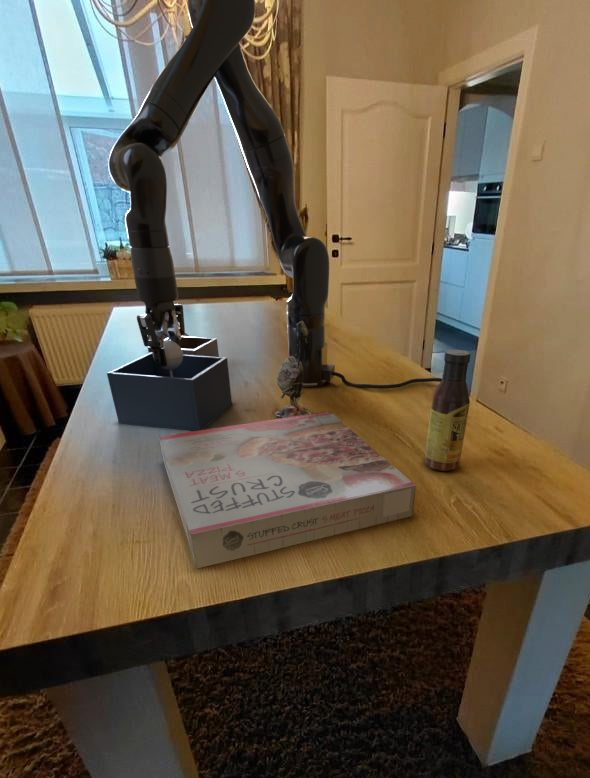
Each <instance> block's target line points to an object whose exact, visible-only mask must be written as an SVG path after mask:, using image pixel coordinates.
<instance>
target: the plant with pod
mask: <svg viewBox="0 0 590 778" xmlns="http://www.w3.org/2000/svg"><path fill="white" fill-rule="evenodd" d="M296 328H297V329H296V330H297V337H298V340H299V345H300V350H299V357H298V359H297V358H296V357H294V356H289V355H288V356H287V357H286V358H285V360H283V362H282V363H281V365H280V368H279V369H278V372H277V377H276V384H277V385H278V387H279V389H280V390H281V393H282V395H281V397H280V398H281V399H284V397H285V396H287V397H289V403H290V404H287V405H284V406H283V408H282V409H278V410H276V411H274V412H273V414H275V416H276V417H278V418H287V417H293V416H300V415H307V414H312V412H311V410H309V409H308V408H306V407H305V406H304V405H303V404H299V401H300V399H301V397H302V395H303V392H304V391H303V390H304V387H303V379H304V376H303V375H304V374H303V371H304V369H303V366H302V364H301V362H300V351H301V345H302V340H305V342H306V343H308V342H307V339H306V337H307V336H308V331H307V328H306V325H305V324H304V322H303V321H300V322H299V323H298V324H297V326H296ZM295 355H297V354H295Z"/></svg>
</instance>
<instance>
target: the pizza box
mask: <svg viewBox="0 0 590 778" xmlns="http://www.w3.org/2000/svg"><path fill="white" fill-rule="evenodd" d="M158 439H159V444H160V449H161V454H162V460H163V464H164V467H165V471H166V474H167V477H168V481H169V484H170V486H171V490H172V493H173V497H174V500H175V503H176V506H177V511H178V513H179V516H180V519H181V524H182V526H183V529H184V532H185V535H186V539H187V542H188V545H189V548H190V552H191V555H192V558H193V562H194V565H195V568H196V569H201V568H206V567H209V566H214V565H218V564H222V563H225V562H231V561H234V560H238V559H243V558H246V557H251V556H254V555H258V554H263V553H267V552H271V551H276V550H279V549H283V548H284V549H285V548H288V547H292V546H296V545H300V544H304V543H308V542H313V541H316V540H321V539H325V538H329V537H333V536H337V535H341V534H345V533H350V532H353V531H358V530H363V529H367V528H370V527H375V526H379V525H383V524H386V523H391V522H395V521H398V520H403V519H408V518H411V517H413V513H414V504H415V496H416V487H417V485H416V484H414V482H413V481H412V480H411V479H409V478H408V477H407V476H405V474H404V473H402V472H401V471H400V470H399V469H397V468H396V466H394V465H393V464H392V463H390V462H389V461H388V460H387V459H386V458H384V457H383V455H381V454H380V453H379V452H378V451H377V450H375V449H374V448H373V447H372V446H371V445H370V444H369V443H367V442H366V441H365V440H364V439H363V438H362V437H360V436H359V435H358V434H357V433H356V432H354V430H352V429H351V428H350V427H349V426H348V425H347V424H345V423H344V422H343V421H341V419H340V418H338V416H336V415H335V414H334V413H332V412H331V410H329V411H328V410H327V411H321V412H315V413H314V412H313V413H311V414H307V415H300V416H293V417H287V418H283V417H279V418H273V419H266V420H261V421H254V422H247V423H241V424H234V425H227V426H226V425H225V426H220V427H219V426H218V427H212V428H207V429H202V430H199V431H192V430H191V431H186V432H179V433H173V434H165V435H160V436H158Z"/></svg>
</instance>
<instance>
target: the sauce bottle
mask: <svg viewBox="0 0 590 778" xmlns="http://www.w3.org/2000/svg"><path fill="white" fill-rule="evenodd" d="M443 361H444V364H443V365H444V366H443V372H442V375H441V378H442V381H441V382H439V384H437V385H436V387H435V389H434V390H433V396H432V403H431V406H430V412H429V421H428V427H427V428H428V429H427V436H426V443H425V450H424V451H425V452H424V455H425V458H424V463H425V465H426V467H428V468H430V469H432V470H435V471H439V472H449V471H454V470H456V469H457V468H458V467H459V463H460V460H461V457H462V451H463V445H464V441H465V434H466V428H467V422H468V416H469V411H470V410H469V409H470V404H471V401H470V395H469V390H468V385H467V373H468V366H469V364H470V361H471V352H470V351H468V350H464V349H446V350H445V352H444V357H443Z"/></svg>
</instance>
